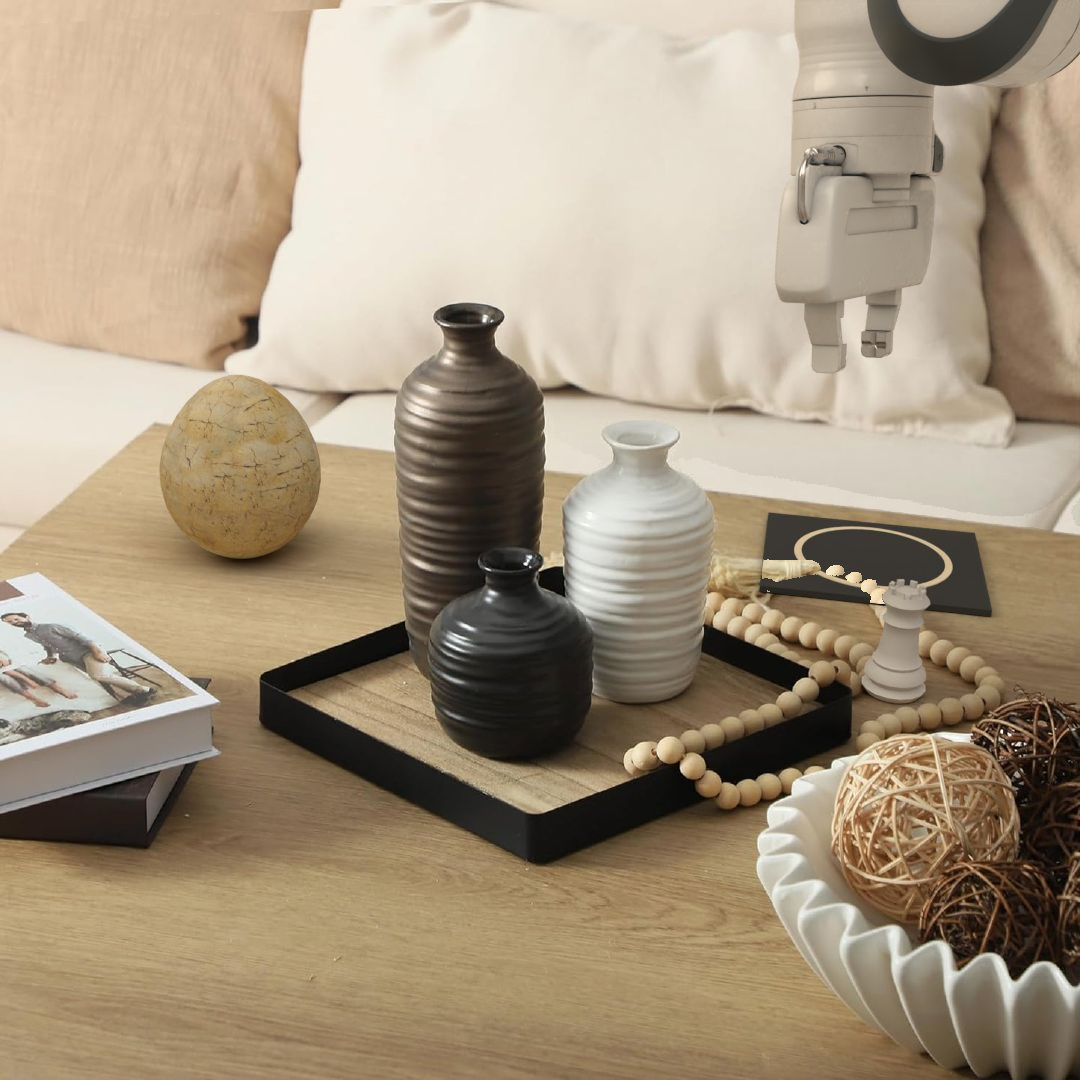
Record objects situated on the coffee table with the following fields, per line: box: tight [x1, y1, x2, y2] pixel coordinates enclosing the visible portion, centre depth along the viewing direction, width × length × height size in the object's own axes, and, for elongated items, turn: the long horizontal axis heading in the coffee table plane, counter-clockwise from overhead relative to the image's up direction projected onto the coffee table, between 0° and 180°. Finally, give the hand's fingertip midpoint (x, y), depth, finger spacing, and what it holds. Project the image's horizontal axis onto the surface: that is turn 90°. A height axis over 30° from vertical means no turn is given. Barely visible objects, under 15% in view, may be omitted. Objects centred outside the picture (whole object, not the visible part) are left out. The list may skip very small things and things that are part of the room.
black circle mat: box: [758, 512, 993, 618], centre depth 123 cm, size 18×16×1 cm
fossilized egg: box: [159, 374, 322, 560], centre depth 118 cm, size 13×13×15 cm
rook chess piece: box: [861, 579, 930, 704], centre depth 102 cm, size 4×4×8 cm
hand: (853, 364), depth 97 cm, fingers open, 8 cm apart
